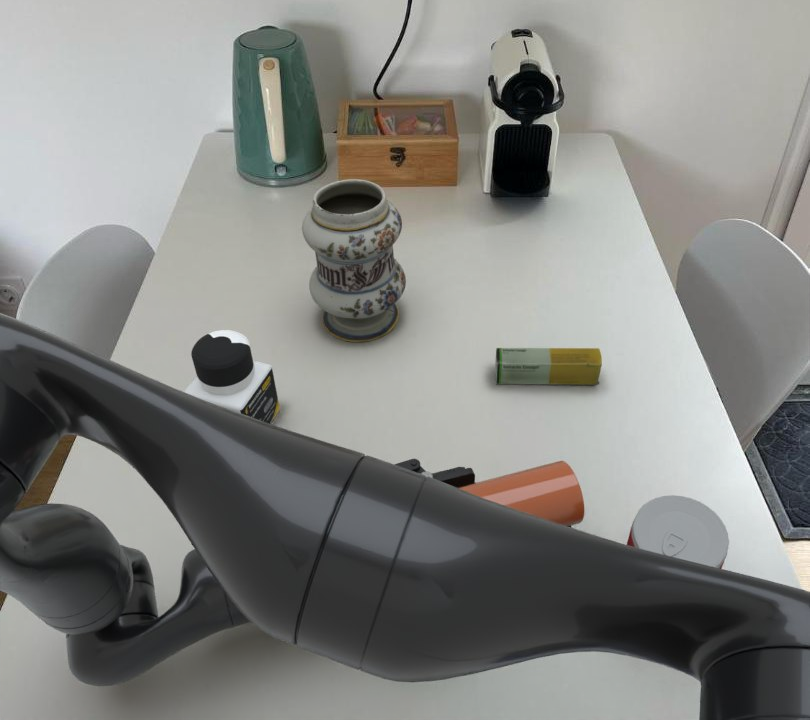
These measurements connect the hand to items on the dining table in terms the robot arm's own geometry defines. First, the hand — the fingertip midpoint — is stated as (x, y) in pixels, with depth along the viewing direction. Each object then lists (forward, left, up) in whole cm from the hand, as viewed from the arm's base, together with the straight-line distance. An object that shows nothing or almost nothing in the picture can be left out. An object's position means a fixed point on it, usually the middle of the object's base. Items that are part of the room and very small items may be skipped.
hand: (490, 512), depth 72 cm
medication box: (+25, -7, -8) cm, 28 cm away
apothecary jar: (+36, +16, -8) cm, 41 cm away
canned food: (-4, -15, -8) cm, 18 cm away
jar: (+1, -2, -3) cm, 4 cm away
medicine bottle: (+17, +28, -8) cm, 34 cm away
